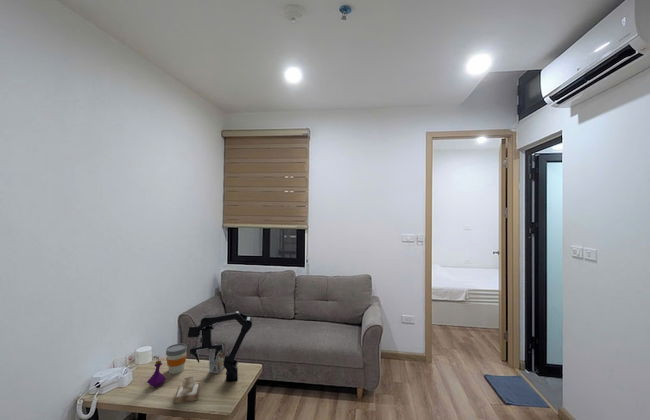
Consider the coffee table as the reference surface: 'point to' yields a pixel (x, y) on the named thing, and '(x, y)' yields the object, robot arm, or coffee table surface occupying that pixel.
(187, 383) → the oak block
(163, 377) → the perfume bottle
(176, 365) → the reusable coffee cup
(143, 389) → the coffee table surface
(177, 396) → the base slab
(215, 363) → the coffee box
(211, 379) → the coffee table surface
